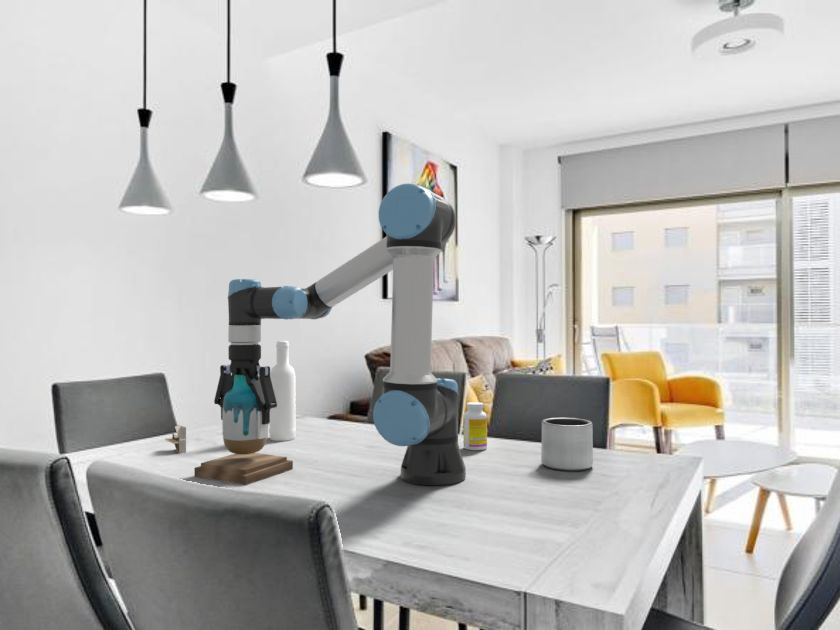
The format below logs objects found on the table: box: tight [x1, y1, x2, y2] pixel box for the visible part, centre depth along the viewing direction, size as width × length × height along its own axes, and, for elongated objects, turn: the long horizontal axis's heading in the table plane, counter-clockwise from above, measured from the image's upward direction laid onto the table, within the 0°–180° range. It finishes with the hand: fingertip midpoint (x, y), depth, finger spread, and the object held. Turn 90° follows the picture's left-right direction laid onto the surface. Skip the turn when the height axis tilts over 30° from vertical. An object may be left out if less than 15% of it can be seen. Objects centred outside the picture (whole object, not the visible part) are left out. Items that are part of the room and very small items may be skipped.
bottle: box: [268, 340, 297, 442], centre depth 185 cm, size 8×8×30 cm
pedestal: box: [194, 452, 294, 486], centre depth 144 cm, size 16×16×3 cm
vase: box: [221, 375, 268, 454], centre depth 145 cm, size 11×11×19 cm
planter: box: [540, 417, 594, 472], centre depth 150 cm, size 12×12×11 cm
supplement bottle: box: [462, 401, 488, 452], centre depth 171 cm, size 7×7×13 cm
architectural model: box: [164, 424, 187, 454], centre depth 168 cm, size 3×7×7 cm, turn 42°
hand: (245, 435), depth 144 cm, fingers closed on vase, 10 cm apart
